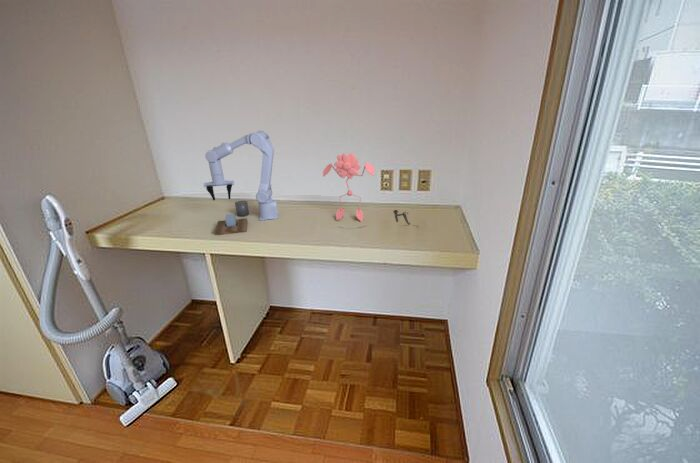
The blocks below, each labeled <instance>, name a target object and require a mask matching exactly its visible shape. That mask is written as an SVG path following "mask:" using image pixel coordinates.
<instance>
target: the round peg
mask: <svg viewBox="0 0 700 463" xmlns="http://www.w3.org/2000/svg"><path fill="white" fill-rule="evenodd" d="M234 205H235V211H236V216H237V217H238V218H244V217H247V216H249V215H250V210H249V205H248V201H247V200H238V201H235V203H234Z"/></svg>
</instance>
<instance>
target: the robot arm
mask: <svg viewBox="0 0 700 463" xmlns="http://www.w3.org/2000/svg"><path fill="white" fill-rule="evenodd" d="M243 145H250V146H251V145H252V146H253V147H255V148H257V149H259V151H260V152H261V153H262V162H261V169H260V182H259V183H260V184H259V186H258V191H257V193H256V194H255V199H256V201H257V202H258V209H259V221H266V220H273V219H274V220H275V219H279V216H278V215H279V210H278V207H277V206H278V205H277V200H275V199H274V200H273V199H272V196H273V190H272V184H271V182H272V172H273V163H274V161H273V160H274V153H275V152H274V151H275V149H274V147H273V144H272V142H271V139H270V136H269V134H268V133H266V132H265V131H264V130H257V131H256V132H251V133H248V134H246V135H244V136H241V137H240V138H238V139H236V140H234V141H232V142H231V143H229V142H227V141H226V142H225V141H223V142H221V143H220V145H218V146H214V147H212V149H210V150H208V151H206V152H205V156H204V157H205V160H206V161H207V162H208V165H209V171H210V176H211V181H209V182H204V183H203V188H205V189H206V191H207V192H208V194H210V196H211V199H212V200H213V201H216V197H215V192H214V187H222V186H226V191H227V198H228V199H229V200H231V192H232V187H233V186H235V181H234V180H225V177H224V172H223V167H222V161H221V159H223V158H226V157H228V156H229V155H232V154H233V152H234V150H235V149H237V148H239V147H242V146H243Z"/></svg>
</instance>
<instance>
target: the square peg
mask: <svg viewBox="0 0 700 463" xmlns="http://www.w3.org/2000/svg"><path fill="white" fill-rule="evenodd" d="M224 218H225V219H224V220H226V224H227V227H228V226H237V224H236V219H237V218H236V215H235V213H228V214H225V217H224Z"/></svg>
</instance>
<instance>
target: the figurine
mask: <svg viewBox="0 0 700 463" xmlns="http://www.w3.org/2000/svg"><path fill="white" fill-rule="evenodd" d="M336 159H337V161H335V162H334V164H332V163H329V164H327V165H326V166H325V168H324V169H323V172H322V177H325V176H327V175H328V174H329V173H330V172H331V170H332V168H333V170H334V171H335V173H336V174H337V175H338V176H339V177H340V178H342V179H345V178H346V177H347V179H346V180H345V181H346V182H345V184H346V186H347V189H348V190H347V192H346V194H343V195H340V196H339V197H338V198H339V199H341V198H342V197H345V196H346V195H347V196H349V197H351V196H353V197H358V199H359V202H361V199H362V198H361V196H358V195H355V194H353V191H352V190H350V187H349V183H348V181H349V179H353V178H354V177H356V176H357V177H363V176H364V174H365V170H366V172H367V173H368V174H370V175H372V176H375V175H376V174H375V167H374V166H373V164H371V163H370V162H368V161H365V163H364V167H363V170H362V172H361V174H359V172H358V171H359V170H360V169H361V168H362V166H361V164H360V163H359V159H358V158H356V157H355V154H354V152H350V153H349V155H348V154H347V153H345V152H344V153H342V155H341V154H340V155H337V156H336ZM333 165H334V166H333ZM335 167H336V168H335ZM353 176H354V177H353ZM341 203H342V201H341V200H339V205H340V208H339V209H337V211H336V213H335V219H336V221H337V222H338V221H339V220H341V219H342V218H344V214H345V210H344V208H342V204H341ZM360 208H361V203H359V205H358V209H356V212H355V215H356V218H357V219H358V220H359V221H360V222H363V219H364V213H363V211H362V209H360ZM331 217H333V215H331ZM365 226H366V227H367V225H365ZM365 226H362V228H363V227H365ZM339 228H341V229H343V227H341V226H339ZM360 228H361V226H359V227H358V229H360Z"/></svg>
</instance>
